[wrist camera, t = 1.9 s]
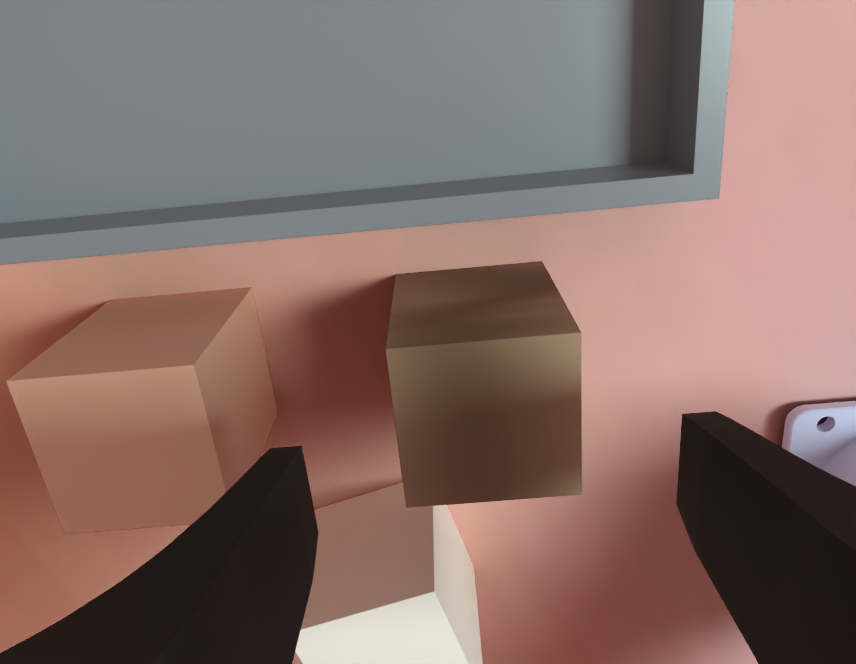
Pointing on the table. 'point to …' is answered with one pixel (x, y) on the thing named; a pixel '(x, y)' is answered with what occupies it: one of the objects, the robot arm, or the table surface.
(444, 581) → the cream block
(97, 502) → the peach block
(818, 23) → the table surface
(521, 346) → the walnut block
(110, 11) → the tray
